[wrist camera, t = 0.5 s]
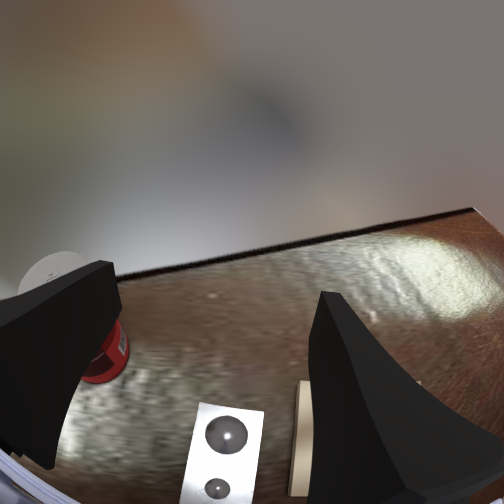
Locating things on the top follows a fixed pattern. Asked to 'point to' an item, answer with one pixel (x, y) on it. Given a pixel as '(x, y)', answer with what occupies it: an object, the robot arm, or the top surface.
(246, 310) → the top surface
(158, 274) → the top surface
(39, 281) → the canned food
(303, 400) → the stand
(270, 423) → the top surface
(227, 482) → the housing
